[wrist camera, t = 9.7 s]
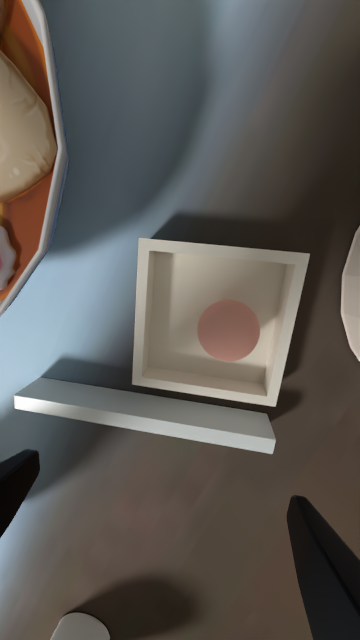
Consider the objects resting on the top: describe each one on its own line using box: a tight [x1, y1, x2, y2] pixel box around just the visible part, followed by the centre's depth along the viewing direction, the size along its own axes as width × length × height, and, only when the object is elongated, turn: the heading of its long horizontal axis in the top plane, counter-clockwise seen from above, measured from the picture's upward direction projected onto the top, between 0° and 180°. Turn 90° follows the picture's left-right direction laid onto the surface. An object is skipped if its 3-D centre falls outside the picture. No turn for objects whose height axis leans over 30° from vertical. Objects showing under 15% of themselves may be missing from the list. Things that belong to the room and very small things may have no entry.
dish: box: [132, 238, 310, 407], centre depth 17 cm, size 10×10×2 cm
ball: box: [197, 300, 260, 361], centre depth 16 cm, size 4×4×4 cm
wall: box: [14, 377, 276, 454], centre depth 20 cm, size 20×1×3 cm, turn 85°
